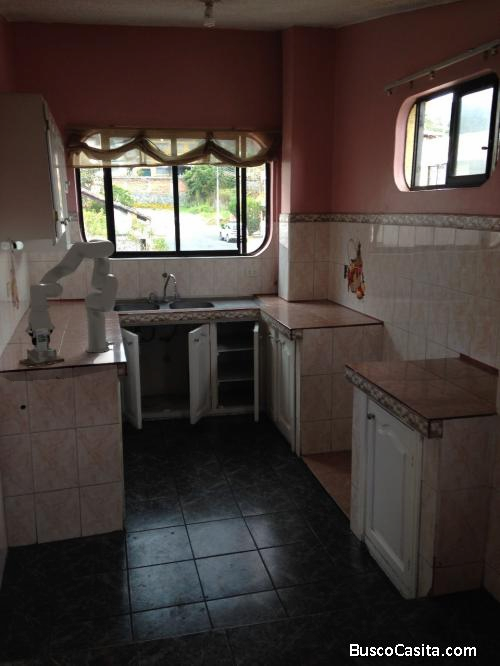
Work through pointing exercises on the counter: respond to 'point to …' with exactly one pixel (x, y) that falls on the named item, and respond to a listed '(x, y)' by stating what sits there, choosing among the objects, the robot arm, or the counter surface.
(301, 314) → the counter surface
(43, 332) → the syrup box
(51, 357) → the collar stand
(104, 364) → the counter surface
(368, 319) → the counter surface
